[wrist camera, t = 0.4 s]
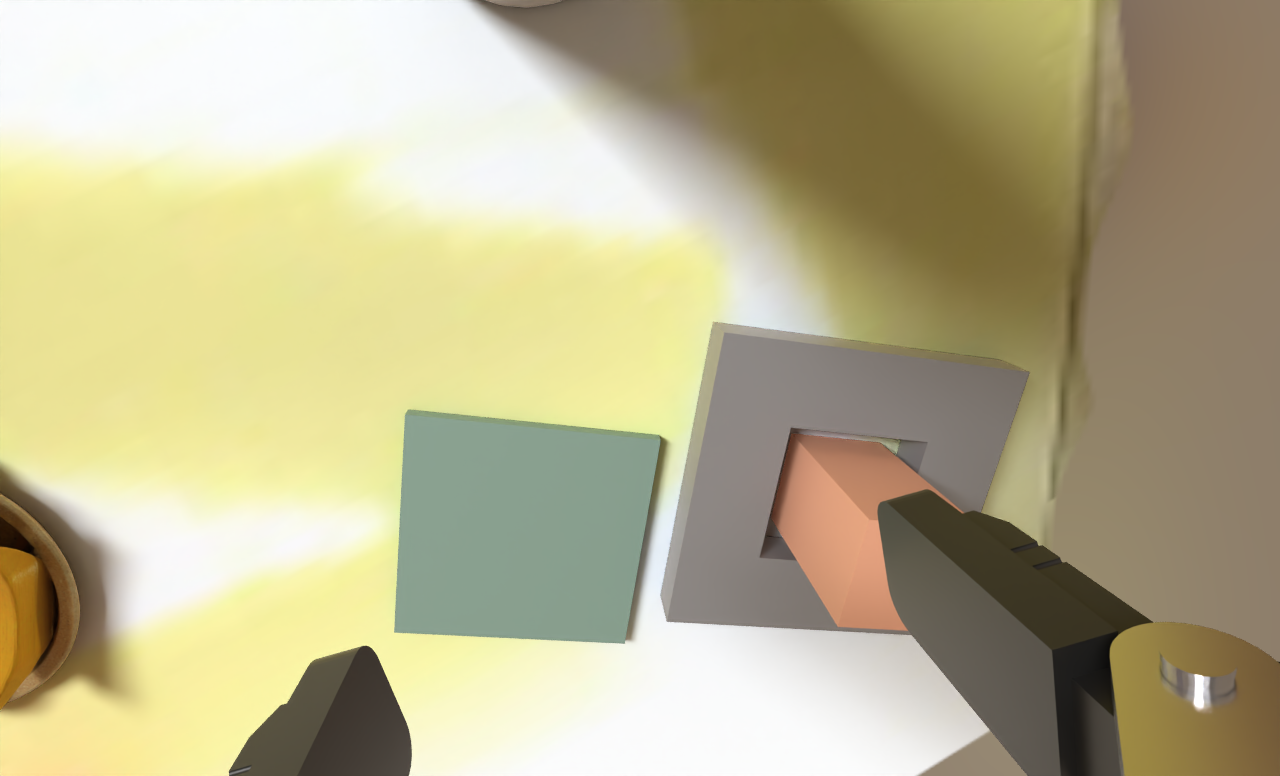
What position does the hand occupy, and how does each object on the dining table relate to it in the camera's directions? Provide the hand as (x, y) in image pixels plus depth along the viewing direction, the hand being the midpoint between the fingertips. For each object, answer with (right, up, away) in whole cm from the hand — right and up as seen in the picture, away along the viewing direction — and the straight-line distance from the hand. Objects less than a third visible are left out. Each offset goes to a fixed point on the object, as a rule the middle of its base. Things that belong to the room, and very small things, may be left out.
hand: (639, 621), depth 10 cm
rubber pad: (-5, -3, +20) cm, 21 cm away
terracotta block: (+9, -1, +21) cm, 23 cm away
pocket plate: (+9, -1, +21) cm, 23 cm away
